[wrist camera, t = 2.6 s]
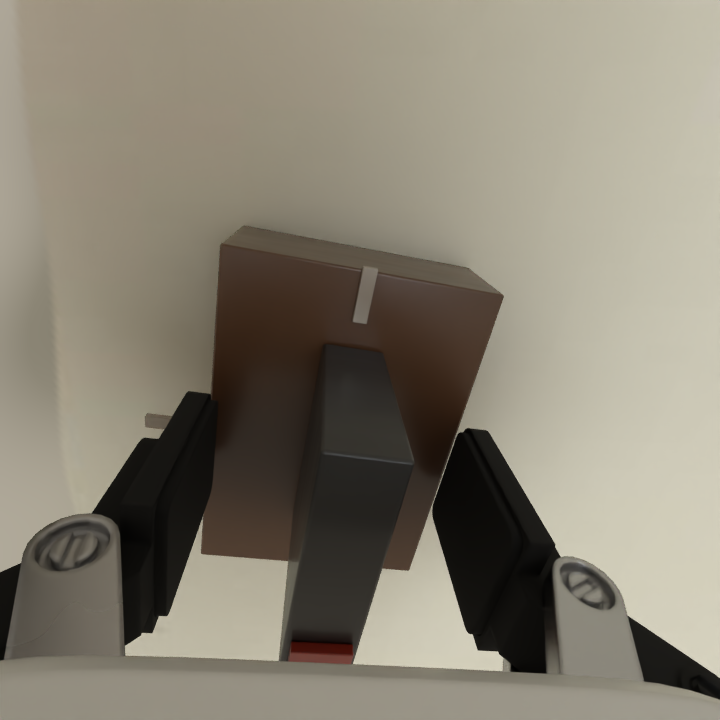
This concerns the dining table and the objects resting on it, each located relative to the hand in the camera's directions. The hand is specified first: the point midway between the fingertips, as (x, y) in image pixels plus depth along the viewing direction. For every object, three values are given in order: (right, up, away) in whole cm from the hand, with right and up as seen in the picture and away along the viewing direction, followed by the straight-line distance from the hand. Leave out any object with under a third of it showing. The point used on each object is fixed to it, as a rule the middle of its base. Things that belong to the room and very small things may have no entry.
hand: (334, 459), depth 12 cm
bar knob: (0, 0, +1) cm, 1 cm away
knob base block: (0, +2, +3) cm, 4 cm away
